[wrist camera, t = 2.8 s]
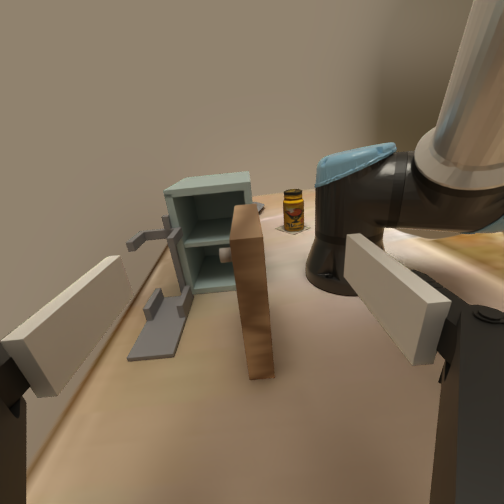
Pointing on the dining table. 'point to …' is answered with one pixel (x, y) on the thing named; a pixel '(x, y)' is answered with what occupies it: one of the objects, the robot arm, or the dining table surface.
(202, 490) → the dining table surface
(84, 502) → the dining table surface
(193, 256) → the cabinet
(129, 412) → the dining table surface
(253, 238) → the door
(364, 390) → the dining table surface
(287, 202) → the condiment
